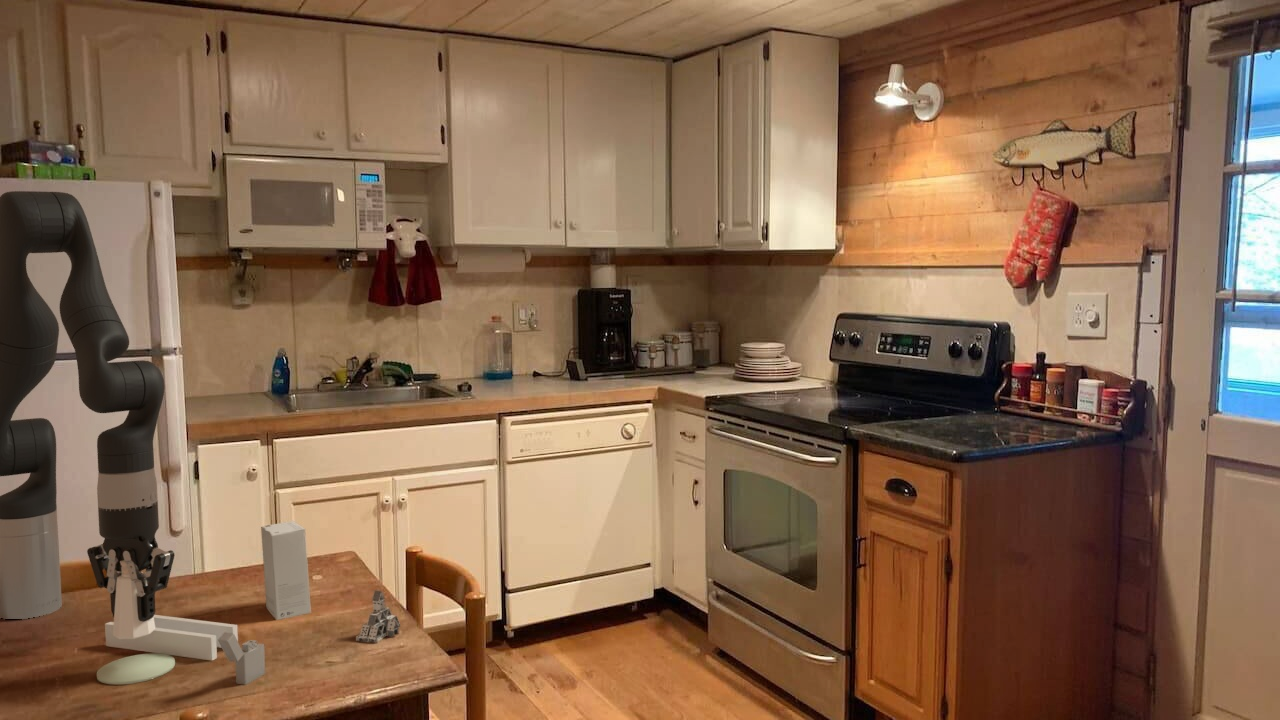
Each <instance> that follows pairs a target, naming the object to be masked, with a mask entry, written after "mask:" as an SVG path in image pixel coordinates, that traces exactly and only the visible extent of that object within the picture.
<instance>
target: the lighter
mask: <svg viewBox="0 0 1280 720" xmlns="http://www.w3.org/2000/svg"><path fill="white" fill-rule="evenodd" d="M218 641H219V643H220V645H221V647H222V648H221V650H222V651H223V652H224V656H225V657H226V659H227V661H228V662H234V663H235V682H236V683H235V684H237V685H248V684H249V683H252V682H253V681H255V680H257V679H258V678H261V677H262V676H263V675H266V663H265V661H266V660H265V659H266V658H265V656H266V655H265V644H264V643H259V642H258V640H255V639H249V640H247V641H245V642H243V643H242V644H241V645H240V643H239V640H238V641H237V639H236V637H235V635H234V634H233V633H227V632H225V633H224V634H223V635H222V636H221V637H220V638H219V639H218Z"/></svg>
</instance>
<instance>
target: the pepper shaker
mask: <svg viewBox="0 0 1280 720" xmlns="http://www.w3.org/2000/svg"><path fill="white" fill-rule="evenodd" d="M120 564H121V566H122V567H121V571H122V572H121V574H122V575H120V576H119V577H117V583H116V598H115V612H114V617H113V622H114V627H113V635H114V636H115V637H117V638H118V639H135V638H138V637H142V636H146V635H149V634H150V633H151V632H153V631H154V630H155V622H154V616H153V618H151V619H149V620H147V621H144V622H143V621H139V619H138V610H137V596H139V595H138V593H137V589H136V585H135V582H133V581H132V580H131V578H130V574H129V570H128V566H127V563H126V562H125V561H124V560H122V561H120ZM139 573H143V571H139ZM144 583H145V586H147V581H146V578H144Z"/></svg>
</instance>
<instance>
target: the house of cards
mask: <svg viewBox="0 0 1280 720" xmlns="http://www.w3.org/2000/svg"><path fill="white" fill-rule="evenodd" d="M385 599H386V597H385V595H384V592H383V591H382V590H376V589H375V590H374V592H373V596H372V600H371V602H372V604H373V607H372V609H373V610H372V612H370V613H369V614H368V618H367V619H368V620H367V622H365V623H364V624H362V626H361V630H360V633H359V634H358V635H356V636H355V641H356V642H362V643H373V644H379V643H378V642H379V641H381V640H382V639H384V638H385V637H386V636H387V637H389V638H395V634H399V633H400V627H401V622H399V619H398V617H397V615H393V613H392V612H391V609H390V607H388V606H386V601H385Z"/></svg>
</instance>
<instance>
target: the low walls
mask: <svg viewBox="0 0 1280 720" xmlns="http://www.w3.org/2000/svg"><path fill="white" fill-rule="evenodd" d="M154 622H155V630H154V631H153V632H151V633H150V634H149V635H146V636H142V637H138V638H135V639H118V638H117V637H115V636H114V635H113V627H114V621H109V622H106V623H104V629H105V630H104V633H105V647H111V648H118V649H124V650H132V651H133V650H134V651H141V652H147V653H159V654H167V655H170V656H174V657H175V656H176V657H177V656H178V657H182V658H183V657H184V658H189V659H198V660H205V661H214V660H217V658H218V652H217V651H218V649H217V648H220V649H222V647H221V645H220V643H219V641H218V639H219V638H220V637H221V636H222V635H223V634H224V633H225V632H227V633H233V634H234V635H235V637H236V639H237V641H238V642H239V636H238V635H239V634H238V624H233V623H231V624H230V623H225V622H218V621H217V622H215V621H208V620H200V619H193V618H183V617H176V616H168V615H159V614H155V615H154Z"/></svg>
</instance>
